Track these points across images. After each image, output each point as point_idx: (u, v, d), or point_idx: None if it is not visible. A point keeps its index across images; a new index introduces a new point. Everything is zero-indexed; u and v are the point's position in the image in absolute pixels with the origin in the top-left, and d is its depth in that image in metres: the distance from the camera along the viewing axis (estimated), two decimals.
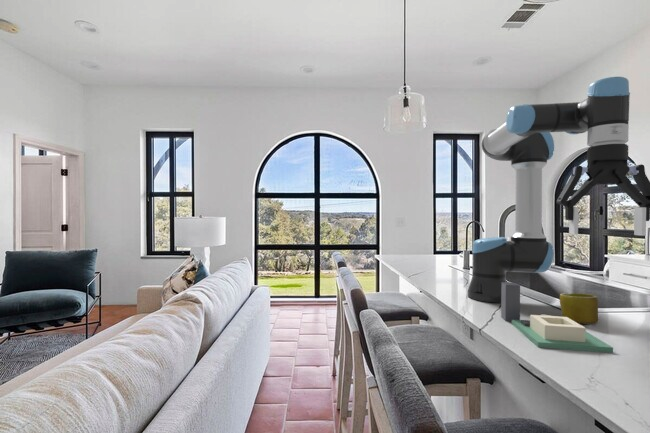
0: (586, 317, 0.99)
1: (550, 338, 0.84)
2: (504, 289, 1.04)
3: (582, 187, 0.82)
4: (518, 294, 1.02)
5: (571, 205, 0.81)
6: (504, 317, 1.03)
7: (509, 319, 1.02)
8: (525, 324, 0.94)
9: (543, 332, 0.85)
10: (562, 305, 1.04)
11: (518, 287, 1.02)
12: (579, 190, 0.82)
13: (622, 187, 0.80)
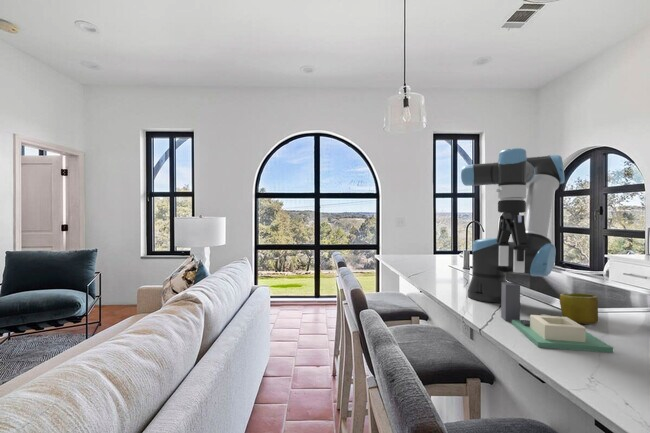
0: (586, 317, 0.99)
1: (550, 338, 0.84)
2: (504, 289, 1.04)
3: None
4: (518, 294, 1.02)
5: (498, 244, 1.12)
6: (504, 317, 1.03)
7: (509, 319, 1.02)
8: (525, 324, 0.94)
9: (543, 332, 0.85)
10: (562, 305, 1.04)
11: (518, 287, 1.02)
12: None
13: None
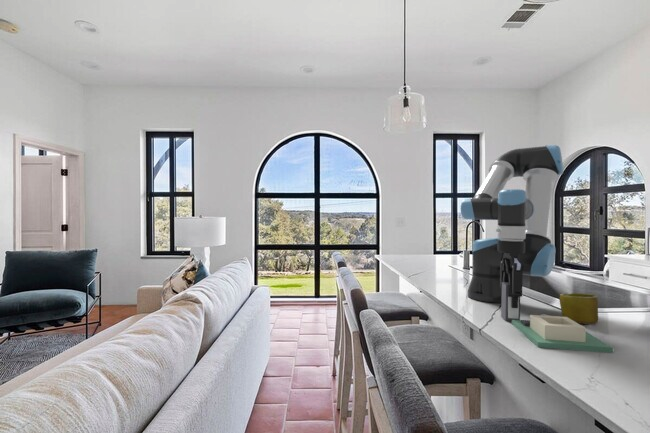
0: (586, 317, 0.99)
1: (550, 338, 0.84)
2: (504, 289, 1.03)
3: None
4: None
5: None
6: (504, 317, 1.03)
7: (509, 319, 1.02)
8: (525, 324, 0.94)
9: (543, 332, 0.85)
10: (562, 305, 1.04)
11: None
12: None
13: None
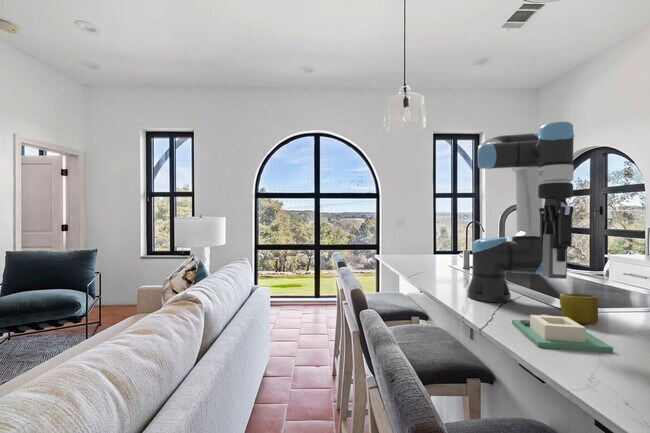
0: (586, 317, 0.99)
1: (550, 338, 0.84)
2: (547, 241, 0.87)
3: None
4: None
5: None
6: (547, 274, 0.87)
7: (553, 276, 0.86)
8: (525, 324, 0.94)
9: (543, 332, 0.85)
10: (562, 305, 1.04)
11: None
12: None
13: None
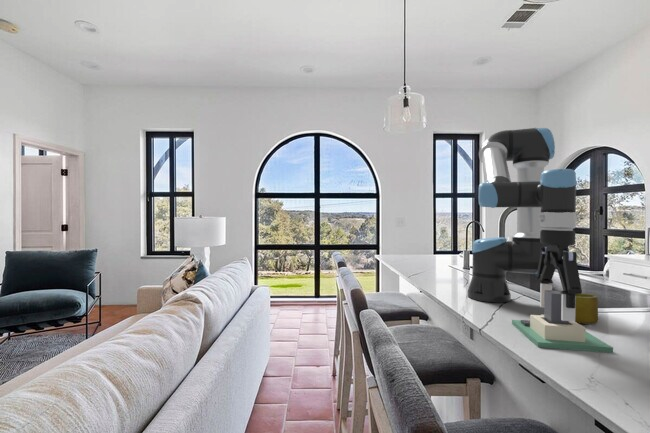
0: (586, 317, 0.99)
1: (550, 338, 0.84)
2: (549, 298, 0.87)
3: None
4: None
5: (539, 281, 0.95)
6: None
7: None
8: (525, 324, 0.94)
9: (543, 332, 0.85)
10: None
11: None
12: None
13: None
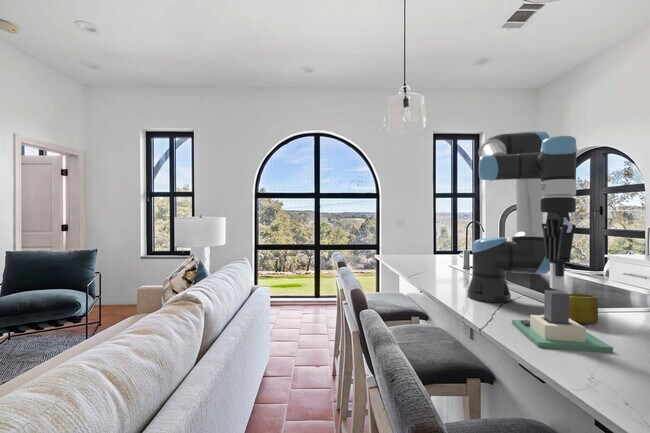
0: (586, 317, 0.99)
1: (550, 338, 0.84)
2: (549, 298, 0.87)
3: None
4: (567, 305, 0.85)
5: (549, 260, 0.89)
6: None
7: None
8: (525, 324, 0.94)
9: (543, 332, 0.85)
10: None
11: (567, 296, 0.85)
12: None
13: None
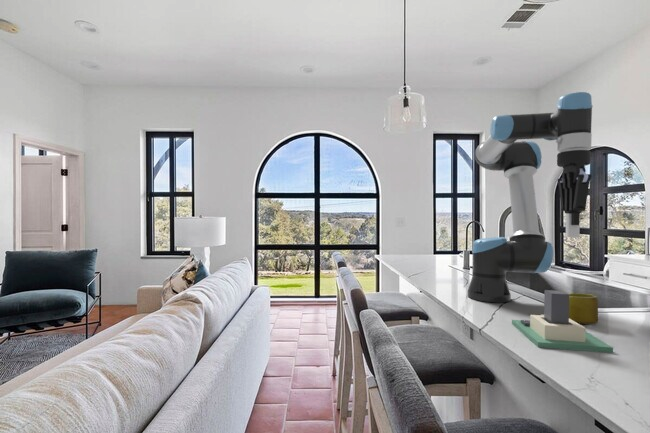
0: (586, 317, 0.99)
1: (550, 338, 0.84)
2: (549, 298, 0.87)
3: None
4: (567, 305, 0.85)
5: (565, 212, 0.94)
6: None
7: None
8: (525, 324, 0.94)
9: (543, 332, 0.85)
10: None
11: (567, 296, 0.85)
12: None
13: None
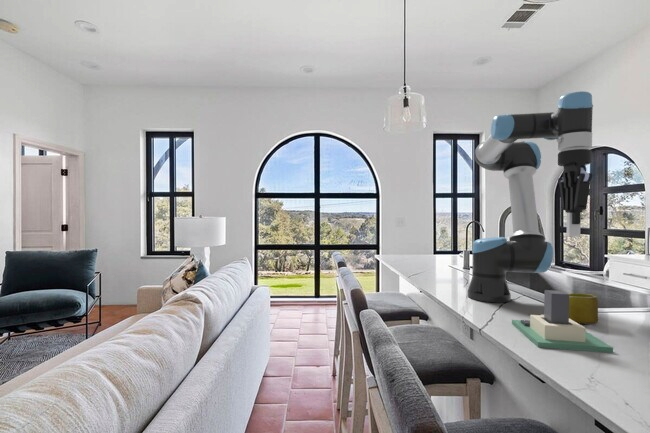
0: (586, 317, 0.99)
1: (550, 338, 0.84)
2: (549, 298, 0.87)
3: None
4: (567, 305, 0.85)
5: (566, 211, 0.95)
6: None
7: None
8: (525, 324, 0.94)
9: (543, 332, 0.85)
10: None
11: (567, 296, 0.85)
12: None
13: None
